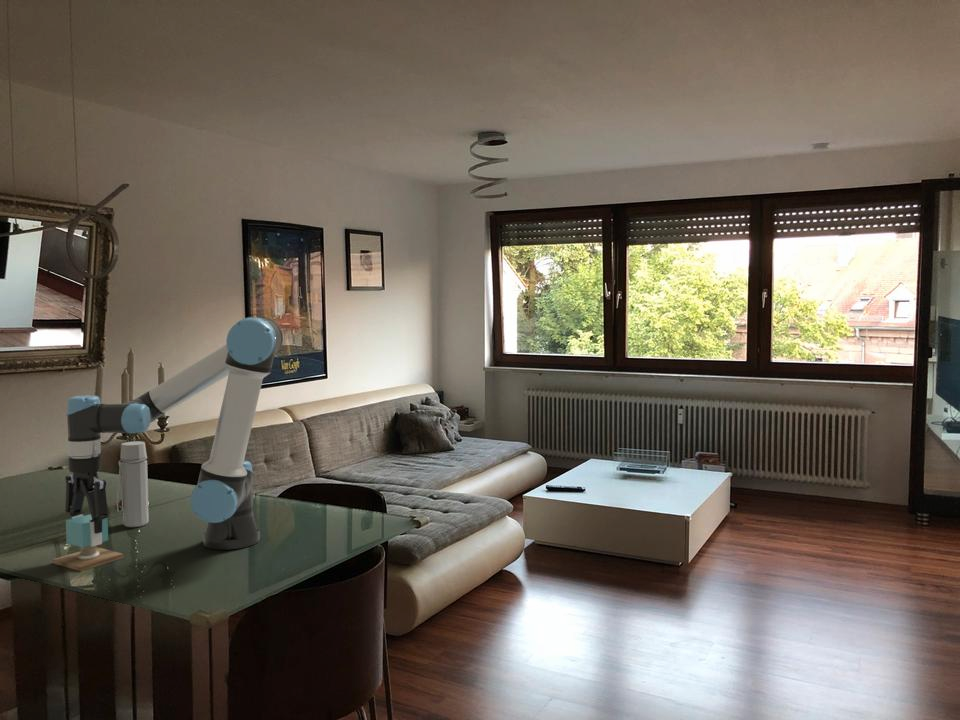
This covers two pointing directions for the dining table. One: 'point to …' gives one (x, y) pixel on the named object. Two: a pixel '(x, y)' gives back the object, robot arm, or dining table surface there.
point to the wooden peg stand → (87, 558)
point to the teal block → (83, 531)
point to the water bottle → (133, 484)
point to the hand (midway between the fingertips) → (87, 542)
